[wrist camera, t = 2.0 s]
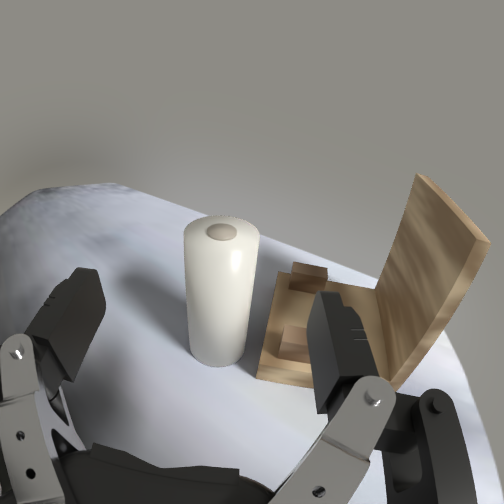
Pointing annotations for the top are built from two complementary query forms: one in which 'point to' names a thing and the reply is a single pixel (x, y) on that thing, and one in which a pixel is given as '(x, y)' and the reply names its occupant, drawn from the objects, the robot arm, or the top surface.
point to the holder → (384, 293)
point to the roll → (219, 286)
